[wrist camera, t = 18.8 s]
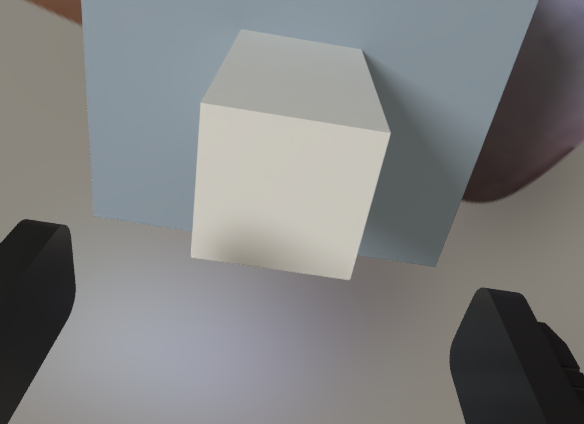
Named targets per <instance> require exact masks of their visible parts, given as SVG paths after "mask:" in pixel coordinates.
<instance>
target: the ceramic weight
mask: <svg viewBox="0 0 584 424" xmlns="http://www.w3.org/2000/svg"><path fill="white" fill-rule="evenodd" d="M390 134H391V132H390V129H389V127H388V124H387V121H386V118H385V115H384V112H383V109H382V106H381V104H380V101H379V98H378V95H377V92H376V89H375V86H374V84H373V81H372V78H371V75H370V72H369V69H368V66H367V63H366V61H365V58H364V55H363V52H362V49H356V48H350V47H344V46H338V45H332V44H326V43H320V42H314V41H308V40H302V39H296V38H290V37H285V36H279V35H273V34H267V33H261V32H255V31H249V30H243V29H241V30H240V32H239V34H238V36H237V38H236V39H235V41H234V43H233V45H232V47H231V49H230V50H229V52H228V54H227V56H226V58H225V59H224V61H223V63H222V65H221V67H220V68H219V70H218V72H217V74H216V76H215V77H214V79H213V81H212V83H211V85H210V86H209V88H208V90H207V92H206V94H205V95H204V97H203V99H202V101H201V103H200V119H199V135H198V151H197V167H196V182H195V198H194V214H193V230H192V246H191V257H193V258H199V259H206V260H214V261H220V262H228V263H234V264H242V265H248V266H256V267H262V268H269V269H276V270H283V271H291V272H297V273H304V274H311V275H318V276H325V277H332V278H339V279H346V280H350V278H351V274H352V271H353V267H354V264H355V260H356V256H357V253H358V249H359V246H360V242H361V239H362V235H363V231H364V228H365V224H366V221H367V217H368V213H369V210H370V206H371V203H372V199H373V195H374V192H375V188H376V185H377V181H378V177H379V174H380V170H381V167H382V163H383V159H384V156H385V152H386V149H387V145H388V141H389V138H390Z"/></svg>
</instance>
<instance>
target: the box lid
mask: <svg viewBox="0 0 584 424" xmlns="http://www.w3.org/2000/svg"><path fill="white" fill-rule="evenodd" d="M538 1H539V0H81V5H82V22H83V39H84V56H85V73H86V90H87V109H88V126H89V143H90V161H91V178H92V196H93V213H94V217H100V218H106V219H113V220H120V221H127V222H133V223H140V224H147V225H155V226H161V227H167V228H174V229H181V230H188V231H192V230H193V214H194V198H195V182H196V167H197V151H198V135H199V119H200V103H201V101H202V99H203V97H204V95H205V94H206V92H207V90H208V88H209V86H210V85H211V83H212V81H213V79H214V77H215V76H216V74H217V72H218V70H219V68H220V67H221V65H222V63H223V61H224V59H225V58H226V56H227V54H228V52H229V50H230V49H231V47H232V45H233V43H234V41H235V39H236V38H237V36H238V34H239V32H240V30H241V29H243V30H249V31H255V32H261V33H267V34H273V35H279V36H285V37H290V38H296V39H302V40H308V41H314V42H320V43H326V44H332V45H338V46H344V47H350V48H356V49H362V52H363V55H364V58H365V61H366V63H367V66H368V69H369V72H370V75H371V78H372V81H373V84H374V86H375V89H376V92H377V95H378V98H379V101H380V104H381V106H382V109H383V112H384V115H385V118H386V121H387V124H388V127H389V129H390V132H391V134H390V138H389V141H388V145H387V149H386V152H385V156H384V159H383V163H382V167H381V170H380V174H379V177H378V181H377V185H376V188H375V192H374V195H373V199H372V203H371V206H370V210H369V213H368V217H367V221H366V224H365V228H364V231H363V235H362V239H361V242H360V246H359V249H358V253H357V256H364V257H372V258H378V259H384V260H392V261H398V262H405V263H411V264H419V265H425V266H432V267H435V266H436V264H437V261H438V259H439V256H440V254H441V251H442V249H443V246H444V243H445V241H446V238H447V235H448V233H449V231H450V228H451V225H452V223H453V220H454V218H455V215H456V212H457V210H458V207H459V204H460V202H461V200H462V197H463V194H464V192H465V189H466V187H467V184H468V181H469V179H470V176H471V174H472V171H473V169H474V166H475V163H476V161H477V158H478V156H479V153H480V150H481V148H482V145H483V143H484V140H485V138H486V135H487V132H488V130H489V127H490V125H491V122H492V119H493V117H494V114H495V112H496V109H497V107H498V104H499V101H500V99H501V96H502V94H503V91H504V88H505V86H506V83H507V81H508V78H509V76H510V73H511V70H512V68H513V65H514V63H515V60H516V57H517V55H518V52H519V50H520V47H521V44H522V42H523V39H524V37H525V34H526V32H527V29H528V26H529V24H530V21H531V19H532V16H533V13H534V11H535V8H536V6H537V3H538Z"/></svg>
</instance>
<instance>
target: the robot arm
mask: <svg viewBox="0 0 584 424" xmlns="http://www.w3.org/2000/svg"><path fill="white" fill-rule="evenodd" d="M75 292H76V284H75V274H74V264H73V253H72V243H71V234H70V230H69V228H68V227H67V226H66V225H61V224H55V223H48V222H41V221H35V220H28V219H25V220H22V221H20V222H19V223H18V224H17V226H15V228H14V229H13V230H12V231H11V232H10V233H9V234H8V235H7V237H6V238H5V239H4V240H3V241H2V242H1V243H0V424H8V422H9V420H10V419H11V417H12V415H13V413H14V412H15V410H16V408H17V406H18V405H19V403H20V401H21V400H22V398H23V396H24V394H25V393H26V391H27V389H28V387H29V386H30V384H31V382H32V380H33V379H34V377H35V375H36V373H37V372H38V370H39V368H40V367H41V365H42V363H43V361H44V360H45V358H46V356H47V354H48V353H49V351H50V349H51V347H52V346H53V344H54V342H55V340H56V339H57V337H58V335H59V333H60V332H61V330H62V328H63V327H64V325H65V323H66V321H67V320H68V318H69V316H70V313H71V310H72V307H73V304H74V299H75ZM579 369H580V367H579V366H578V364H577V362H576V360H575V359H574V357H573V355H572V353H571V351H570V350H569V348H568V346H567V344H566V343H565V342H564V341H562V339H561V338H560V337H559V336H558V335H557V334H556V333H555V332H554V331H553V330H552V329H551V328H550V327H549V326H548V325H547V324H546V323H542V322H537V320H536V318H535V316H534V314H533V312H532V310H531V308H530V306H529V304H528V303H527V301H526V299H525V297H524V296H523V295H522V294H520V293H516V292H510V291H503V290H496V289H489V288H480V289H479V290H477V291H476V293H475V294H474V296H473V298H472V301H471V303H470V305H469V307H468V309H467V311H466V313H465V315H464V318H463V320H462V322H461V324H460V326H459V328H458V330H457V333H456V335H455V337H454V339H453V342H452V345H451V349H450V370H451V374H452V378H453V381H454V384H455V388H456V391H457V395H458V398H459V402H460V406H461V409H462V412H463V416H464V419H465V423H466V424H584V374H583V373H580V372H579Z"/></svg>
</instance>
